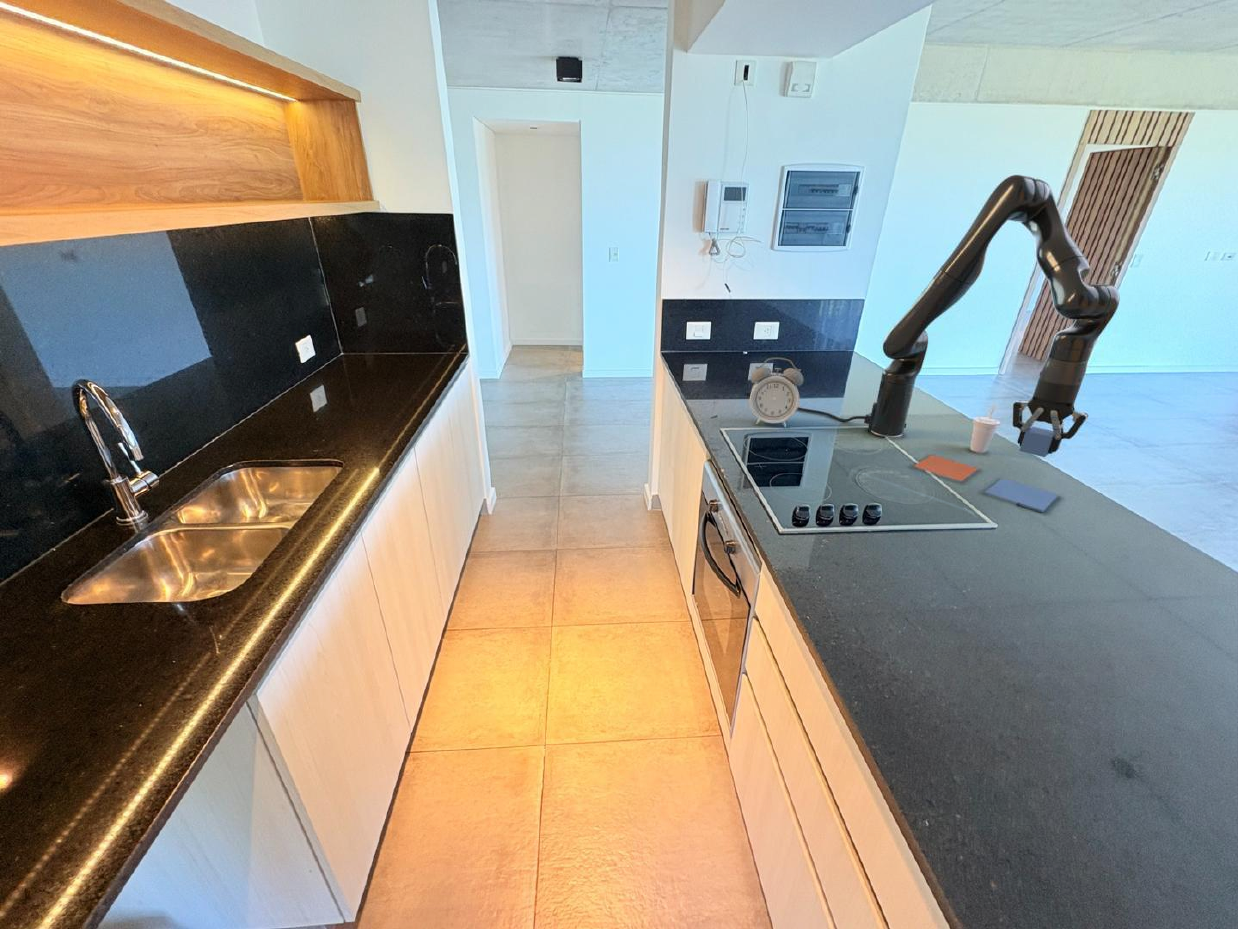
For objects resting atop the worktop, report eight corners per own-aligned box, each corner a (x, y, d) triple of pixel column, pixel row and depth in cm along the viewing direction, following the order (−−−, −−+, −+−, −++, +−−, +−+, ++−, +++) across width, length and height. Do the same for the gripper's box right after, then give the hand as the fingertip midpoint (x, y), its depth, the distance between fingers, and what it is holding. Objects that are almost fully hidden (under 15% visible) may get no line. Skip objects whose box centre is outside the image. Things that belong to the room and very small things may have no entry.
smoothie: (994, 456, 150) (1009, 410, 144) (969, 455, 151) (983, 408, 145) (985, 448, 156) (999, 402, 150) (961, 446, 157) (974, 401, 151)
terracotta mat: (912, 468, 144) (913, 466, 143) (931, 456, 150) (932, 454, 150) (960, 483, 135) (961, 481, 135) (978, 470, 142) (979, 468, 142)
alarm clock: (745, 425, 174) (752, 359, 165) (746, 416, 182) (753, 353, 172) (797, 429, 170) (807, 362, 161) (796, 421, 178) (806, 356, 168)
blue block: (1019, 451, 125) (1025, 431, 122) (1026, 445, 127) (1032, 426, 125) (1044, 457, 121) (1052, 437, 119) (1051, 451, 124) (1058, 432, 122)
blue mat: (983, 494, 130) (984, 491, 129) (1001, 480, 137) (1001, 478, 136) (1042, 512, 121) (1043, 510, 121) (1057, 497, 128) (1058, 494, 128)
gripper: (1106, 382, 114) (1078, 454, 121) (1027, 369, 124) (1006, 437, 131) (1097, 388, 110) (1069, 463, 117) (1017, 375, 120) (995, 444, 127)
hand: (1035, 449), depth 124 cm, fingers closed on blue block, 5 cm apart
